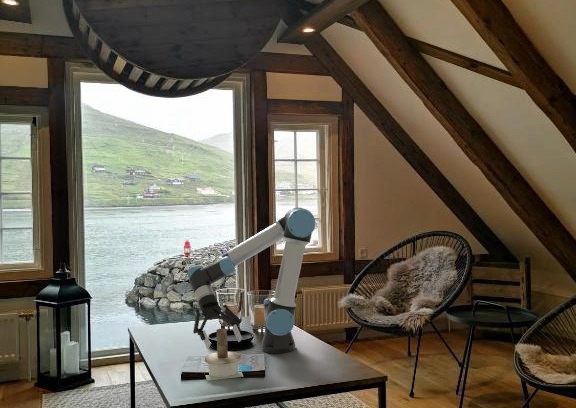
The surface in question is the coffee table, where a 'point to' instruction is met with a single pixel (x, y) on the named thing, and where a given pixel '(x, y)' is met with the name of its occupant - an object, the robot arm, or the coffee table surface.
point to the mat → (238, 374)
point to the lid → (222, 351)
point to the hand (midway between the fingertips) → (224, 343)
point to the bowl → (223, 369)
